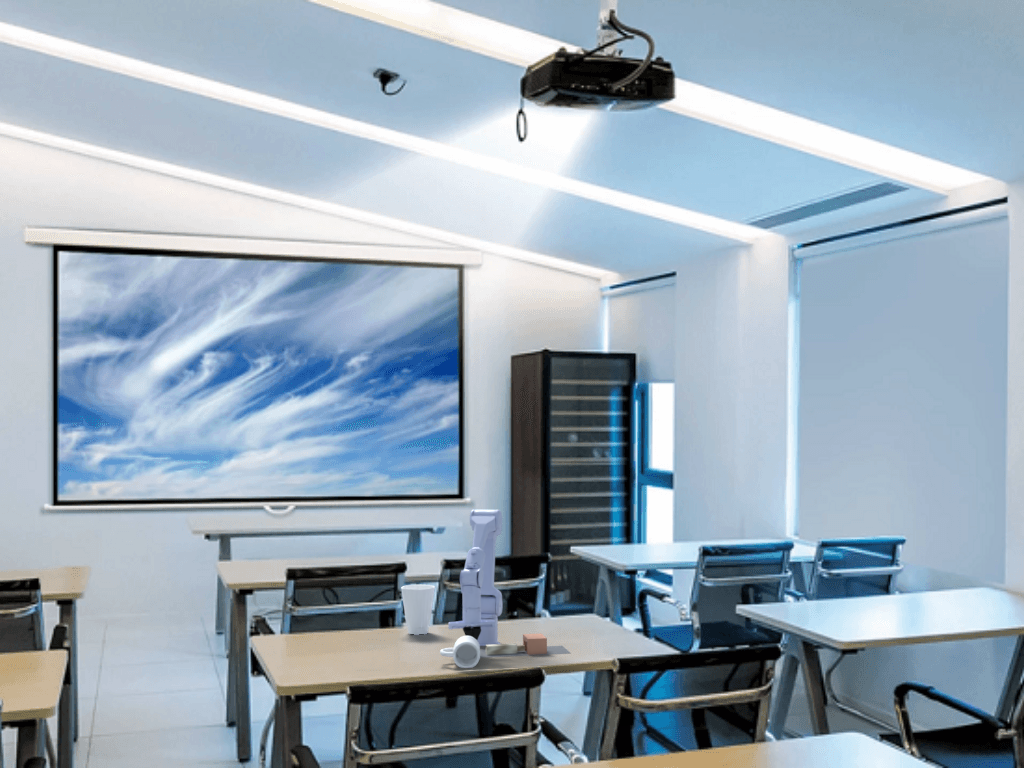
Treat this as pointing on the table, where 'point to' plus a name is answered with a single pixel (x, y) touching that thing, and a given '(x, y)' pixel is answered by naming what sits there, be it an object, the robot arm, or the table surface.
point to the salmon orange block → (535, 643)
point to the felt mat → (524, 653)
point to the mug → (464, 652)
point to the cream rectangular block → (504, 648)
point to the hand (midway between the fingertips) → (472, 651)
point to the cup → (418, 607)
